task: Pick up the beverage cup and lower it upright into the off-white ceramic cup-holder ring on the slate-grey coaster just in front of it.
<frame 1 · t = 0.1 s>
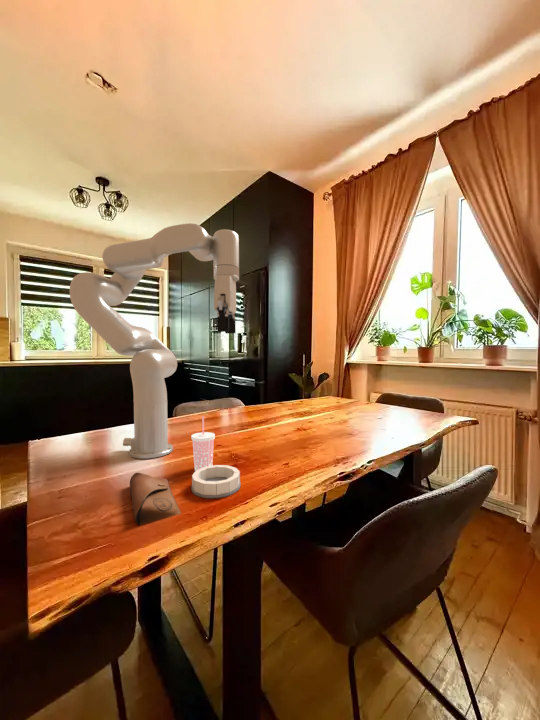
hand: (226, 332, 89), 37 cm above the table, tool pointing down, fingers open, 9 cm apart
beverage cup: (203, 469, 79), on the table
cup holder ring: (216, 486, 69), on the table
sunglasses case: (153, 502, 63), on the table
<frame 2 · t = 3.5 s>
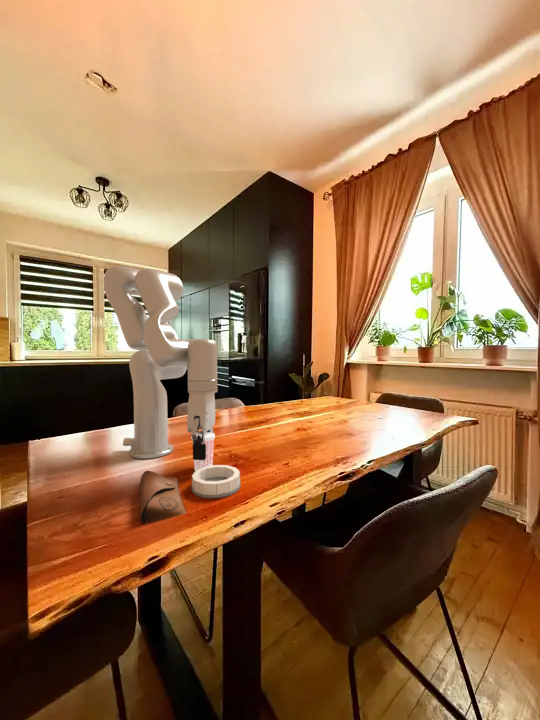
hand: (203, 454, 79), 4 cm above the table, tool pointing down, fingers closed on beverage cup, 6 cm apart
beverage cup: (203, 469, 79), on the table, touching gripper
sunglasses case: (161, 501, 63), on the table
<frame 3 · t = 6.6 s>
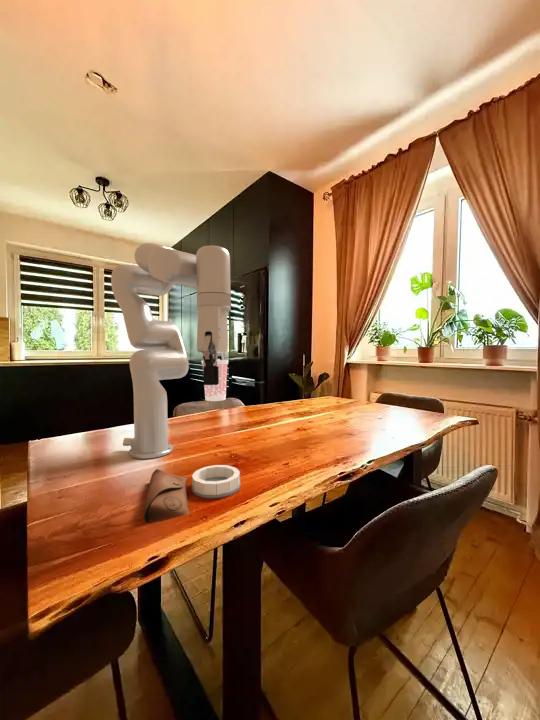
hand: (215, 382, 68), 24 cm above the table, tool pointing down, fingers closed on beverage cup, 6 cm apart
beverage cup: (215, 400, 68), point 20 cm above the table, touching gripper
sunglasses case: (168, 500, 64), on the table
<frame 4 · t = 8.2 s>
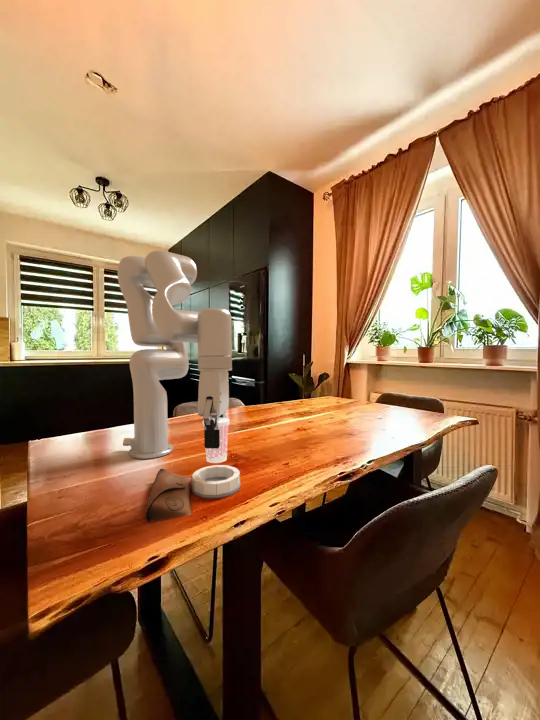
hand: (216, 442, 68), 10 cm above the table, tool pointing down, fingers closed on beverage cup, 6 cm apart
beverage cup: (216, 460, 68), point 6 cm above the table, touching gripper
when the fingers open (5 cm above the table, at t = 9.8 s): beverage cup stays where it is, resting on cup holder ring.
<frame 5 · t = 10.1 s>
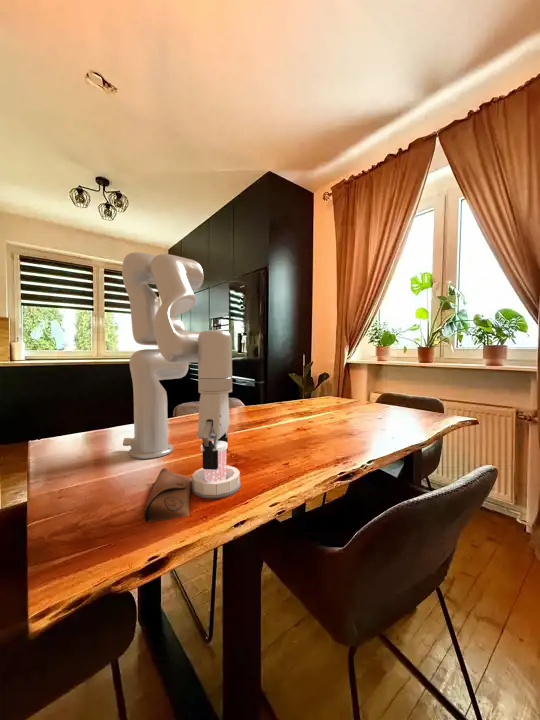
hand: (216, 460, 68), 6 cm above the table, tool pointing down, fingers open, 9 cm apart
beverage cup: (216, 484, 69), resting on cup holder ring
everything else where it was.
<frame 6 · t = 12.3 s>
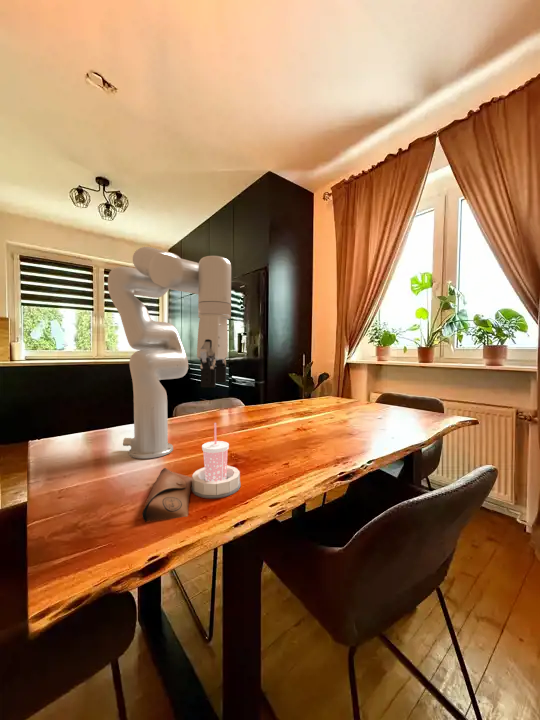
hand: (214, 384, 71), 23 cm above the table, tool pointing down, fingers open, 9 cm apart
sunglasses case: (172, 499, 64), on the table, touching cup holder ring
everything else where it was.
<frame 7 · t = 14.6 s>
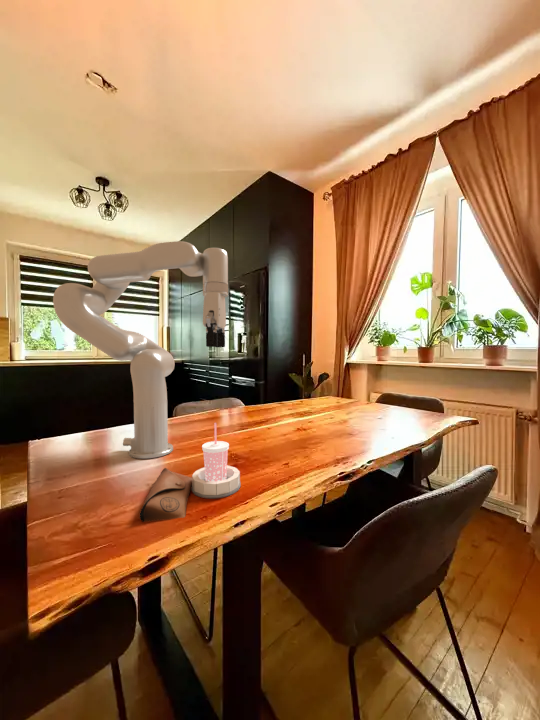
hand: (216, 347, 92), 32 cm above the table, tool pointing down, fingers open, 9 cm apart
nothing on the table moved.
at the end: beverage cup 0.2 cm from the cup holder ring (horizontally); beverage cup tilted 0°; beverage cup resting on cup holder ring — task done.
